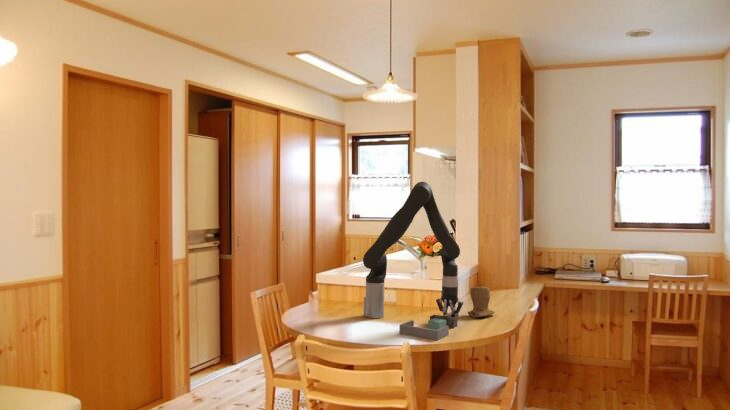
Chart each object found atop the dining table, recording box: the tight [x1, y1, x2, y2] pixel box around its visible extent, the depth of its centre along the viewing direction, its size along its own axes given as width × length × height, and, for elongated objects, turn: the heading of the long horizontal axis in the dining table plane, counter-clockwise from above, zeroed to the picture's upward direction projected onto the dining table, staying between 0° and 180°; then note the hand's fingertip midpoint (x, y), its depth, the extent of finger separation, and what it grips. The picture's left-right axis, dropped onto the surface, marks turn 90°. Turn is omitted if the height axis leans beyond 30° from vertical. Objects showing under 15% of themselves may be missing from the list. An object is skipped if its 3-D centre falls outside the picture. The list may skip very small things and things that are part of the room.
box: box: [398, 319, 450, 341], centre depth 251 cm, size 18×11×4 cm, turn 58°
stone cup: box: [467, 286, 496, 318], centre depth 291 cm, size 15×12×15 cm
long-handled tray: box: [429, 311, 460, 329], centre depth 273 cm, size 12×16×4 cm
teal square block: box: [427, 318, 446, 330], centre depth 262 cm, size 6×6×4 cm
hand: (449, 320), depth 273 cm, fingers closed on long-handled tray, 3 cm apart
